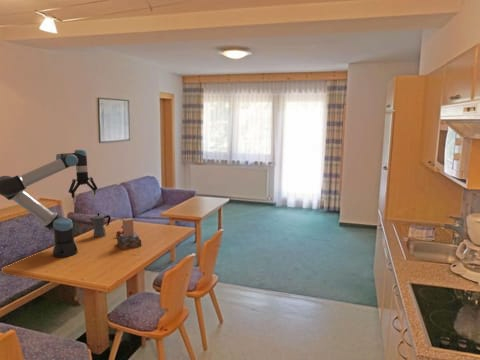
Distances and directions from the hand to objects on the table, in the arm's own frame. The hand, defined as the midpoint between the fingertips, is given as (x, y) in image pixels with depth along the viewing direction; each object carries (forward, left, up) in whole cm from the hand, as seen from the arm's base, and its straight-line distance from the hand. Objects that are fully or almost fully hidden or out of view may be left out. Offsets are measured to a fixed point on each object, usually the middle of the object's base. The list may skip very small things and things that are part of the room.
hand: (84, 200), depth 261 cm
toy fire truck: (+28, -4, -32) cm, 43 cm away
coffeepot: (+16, +10, -32) cm, 37 cm away
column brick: (+18, -27, -25) cm, 41 cm away
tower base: (+18, -27, -32) cm, 45 cm away
